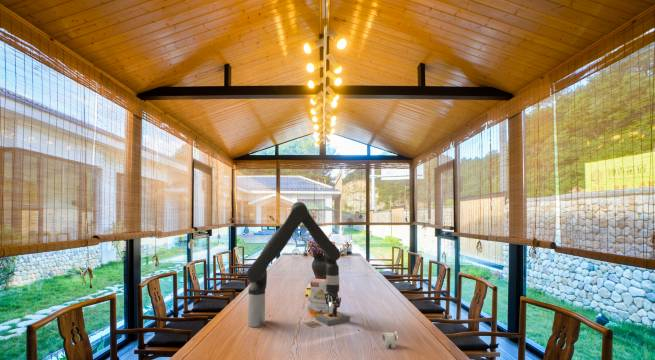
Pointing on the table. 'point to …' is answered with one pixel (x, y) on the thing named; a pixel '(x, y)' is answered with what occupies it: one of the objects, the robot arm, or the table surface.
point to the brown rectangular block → (313, 324)
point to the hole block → (334, 320)
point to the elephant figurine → (389, 339)
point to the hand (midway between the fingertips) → (332, 313)
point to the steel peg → (331, 310)
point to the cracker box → (318, 296)
